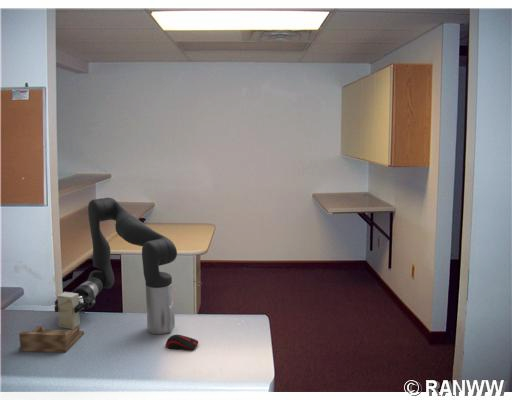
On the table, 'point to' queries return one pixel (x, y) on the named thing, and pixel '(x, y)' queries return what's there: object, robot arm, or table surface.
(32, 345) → the tray
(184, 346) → the computer mouse
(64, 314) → the skincare box
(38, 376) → the table surface
